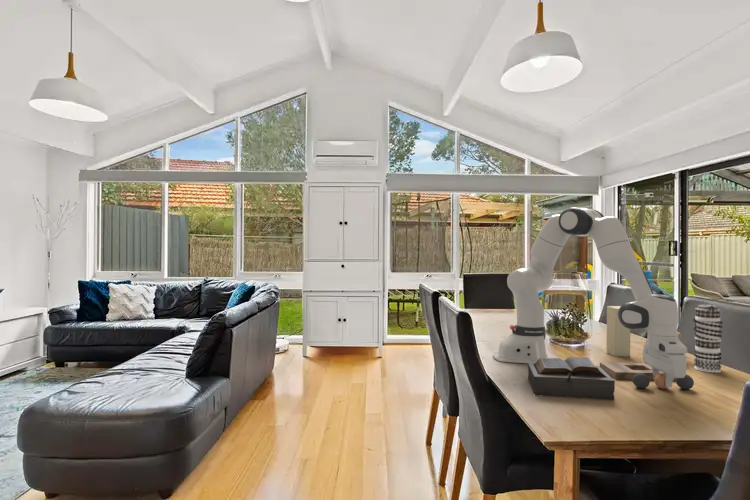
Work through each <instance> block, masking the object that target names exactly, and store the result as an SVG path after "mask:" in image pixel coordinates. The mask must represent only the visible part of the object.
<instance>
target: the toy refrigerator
mask: <svg viewBox="0 0 750 500" xmlns="http://www.w3.org/2000/svg"><path fill="white" fill-rule="evenodd" d="M621 306H622V305H607V306H606V353H608V354H609V355H612V356H614V357H631V329H628V328H626V327H624V326H623V325H622V324H621V323H620V321H619V318H618V311H619V308H620V307H621Z"/></svg>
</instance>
